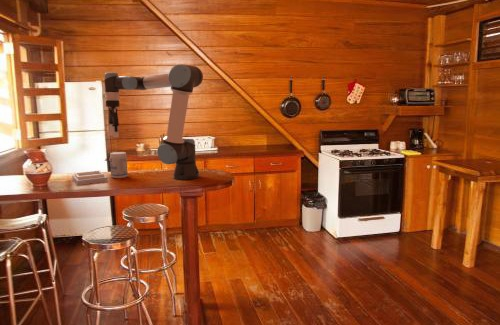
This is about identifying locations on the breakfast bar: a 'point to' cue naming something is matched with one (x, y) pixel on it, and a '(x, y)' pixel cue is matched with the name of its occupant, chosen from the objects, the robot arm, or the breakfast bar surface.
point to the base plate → (89, 177)
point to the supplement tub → (118, 164)
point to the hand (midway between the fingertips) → (114, 136)
